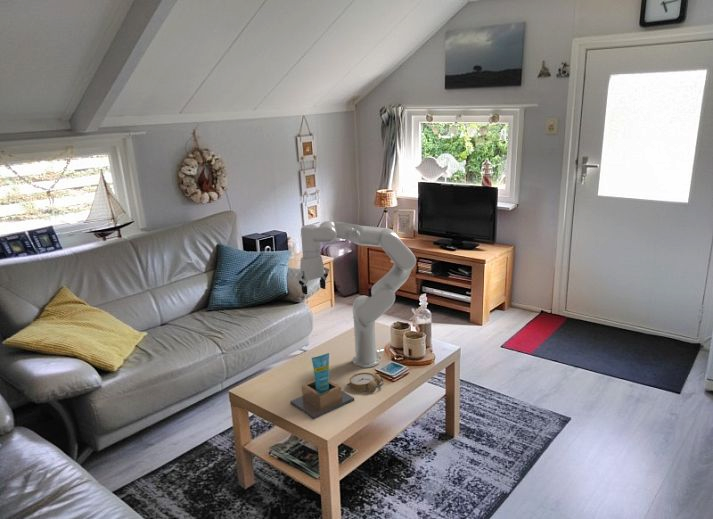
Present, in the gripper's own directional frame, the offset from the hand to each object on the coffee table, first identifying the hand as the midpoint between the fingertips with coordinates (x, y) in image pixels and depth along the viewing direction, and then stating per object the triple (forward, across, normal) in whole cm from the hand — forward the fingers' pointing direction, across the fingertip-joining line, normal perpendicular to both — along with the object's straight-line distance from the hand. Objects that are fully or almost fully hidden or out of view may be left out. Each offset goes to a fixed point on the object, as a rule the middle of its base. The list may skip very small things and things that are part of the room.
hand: (314, 291), depth 244 cm
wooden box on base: (+36, +18, +27) cm, 49 cm away
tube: (+35, +17, +27) cm, 48 cm away
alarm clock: (+37, -3, +30) cm, 47 cm away
